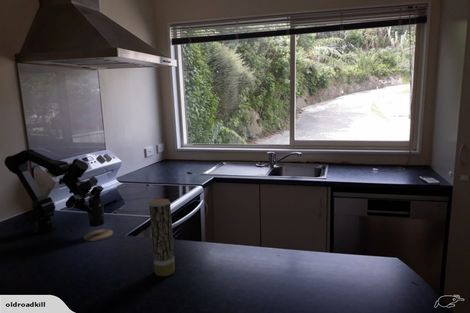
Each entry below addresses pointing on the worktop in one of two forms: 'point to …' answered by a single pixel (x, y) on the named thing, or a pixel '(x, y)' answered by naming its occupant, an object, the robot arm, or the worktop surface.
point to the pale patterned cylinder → (162, 237)
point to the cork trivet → (98, 235)
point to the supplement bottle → (96, 212)
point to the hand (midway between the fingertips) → (98, 210)
